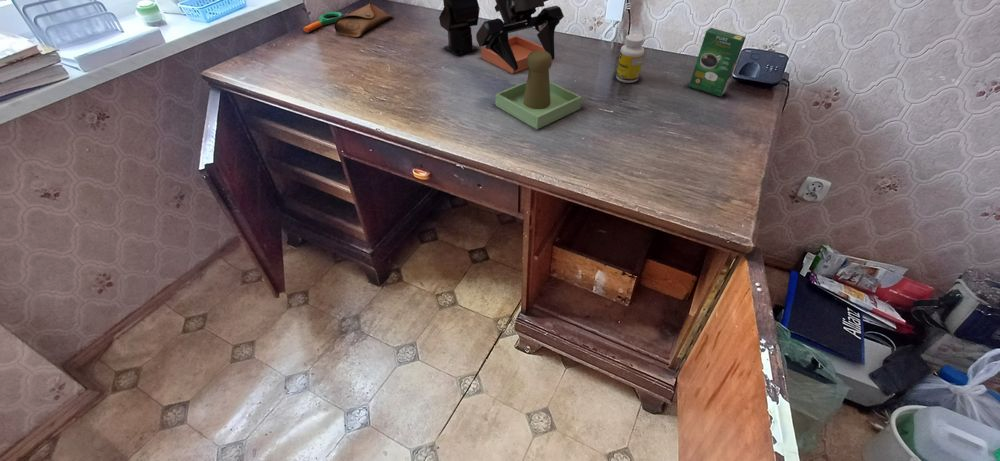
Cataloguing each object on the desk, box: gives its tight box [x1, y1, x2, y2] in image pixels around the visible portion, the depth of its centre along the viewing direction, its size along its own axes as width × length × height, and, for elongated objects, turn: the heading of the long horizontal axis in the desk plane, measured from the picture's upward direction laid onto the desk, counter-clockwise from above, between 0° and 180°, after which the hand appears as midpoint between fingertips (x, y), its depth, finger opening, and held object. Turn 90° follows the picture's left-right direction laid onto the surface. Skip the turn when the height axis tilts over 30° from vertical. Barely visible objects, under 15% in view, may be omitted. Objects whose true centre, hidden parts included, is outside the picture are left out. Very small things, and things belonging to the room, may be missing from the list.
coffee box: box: [688, 27, 747, 98], centre depth 103 cm, size 8×3×13 cm, turn 50°
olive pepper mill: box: [523, 50, 553, 109], centre depth 98 cm, size 6×6×11 cm
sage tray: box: [495, 80, 583, 130], centre depth 101 cm, size 13×13×3 cm
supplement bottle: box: [615, 33, 645, 84], centre depth 109 cm, size 5×5×10 cm
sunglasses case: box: [334, 2, 394, 38], centre depth 137 cm, size 18×7×7 cm, turn 157°
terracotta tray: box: [480, 35, 545, 74], centre depth 120 cm, size 12×12×3 cm
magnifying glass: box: [302, 11, 343, 33], centre depth 138 cm, size 15×6×2 cm, turn 158°
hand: (535, 64), depth 97 cm, fingers open, 9 cm apart
